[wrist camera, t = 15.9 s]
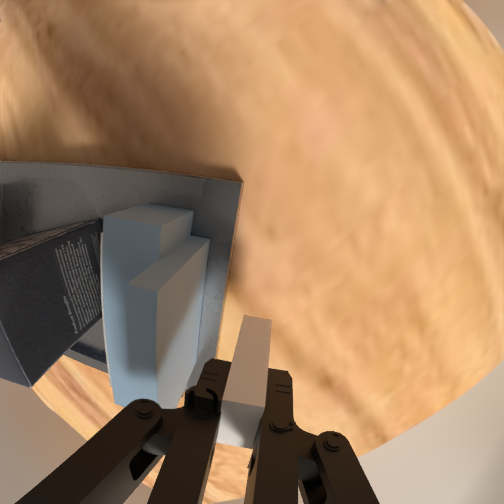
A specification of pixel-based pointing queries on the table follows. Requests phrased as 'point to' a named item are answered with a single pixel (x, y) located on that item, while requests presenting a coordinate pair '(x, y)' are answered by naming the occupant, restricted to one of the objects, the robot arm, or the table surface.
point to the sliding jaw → (151, 301)
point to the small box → (47, 297)
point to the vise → (116, 199)
